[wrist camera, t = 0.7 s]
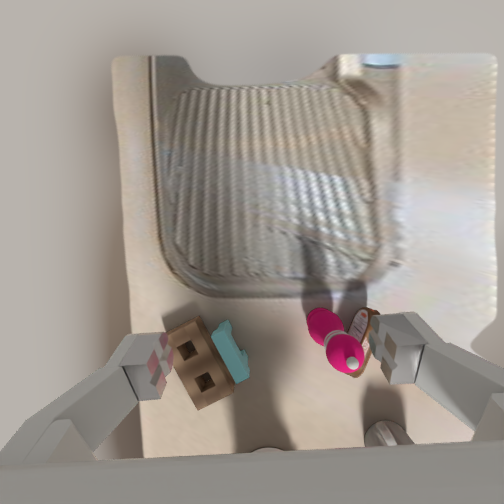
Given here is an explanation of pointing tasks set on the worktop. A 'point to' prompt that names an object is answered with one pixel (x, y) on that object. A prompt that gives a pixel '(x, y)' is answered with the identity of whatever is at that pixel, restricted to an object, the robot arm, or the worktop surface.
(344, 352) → the pepper mill
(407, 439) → the coffee mug
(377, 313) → the tin
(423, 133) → the worktop surface
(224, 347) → the clip
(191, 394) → the slotted wooden block
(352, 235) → the worktop surface
